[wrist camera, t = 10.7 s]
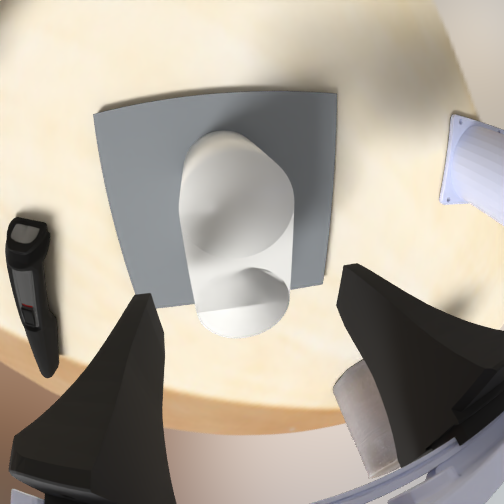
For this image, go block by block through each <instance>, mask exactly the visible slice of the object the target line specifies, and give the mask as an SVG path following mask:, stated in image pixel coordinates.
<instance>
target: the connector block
mask: <svg viewBox="0 0 504 504" xmlns="http://www.w3.org/2000/svg"><path fill="white" fill-rule="evenodd" d="M179 217H180V224H181V230H182V236H183V242H184V248H185V254H186V260H187V265H188V271H189V276H190V281H191V286H192V291H193V297H194V301H195V306H196V311H197V315H198V318H199V320H200V322H201V323H202V324H203V325H204V326H205V327H206V328H207V329H208V330H209V331H211V332H213V333H214V334H217V335H219V336H223V337H228V338H246V337H251V336H255V335H258V334H260V333H263V332H265V331H267V330H268V329H270V328H271V327H273V326H274V325H275V324H276V323H277V322H278V321H280V319H281V318H282V317H283V315H284V314H285V312H286V310H287V308H288V305H289V299H290V283H291V266H292V247H293V225H294V193H293V188H292V185H291V182H290V180H289V178H288V176H287V175H286V174H285V172H284V171H283V170H282V168H281V167H280V166H279V165H278V164H277V163H275V162H274V161H273V160H272V159H271V158H270V157H269V156H268V155H266V154H265V153H264V152H263V151H262V150H261V149H260V148H258V147H257V146H256V145H255V144H254V143H253V142H251V141H250V140H249V139H248V138H246V137H245V136H243V135H241V134H239V133H237V132H233V131H226V130H222V131H215V132H211V133H208V134H206V135H204V136H202V137H201V138H199V139H198V140H197V141H196V142H195V143H194V144H193V145H192V146H191V147H190V149H189V151H188V152H187V154H186V157H185V160H184V166H183V173H182V181H181V189H180V198H179Z"/></svg>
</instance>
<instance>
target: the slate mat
mask: <svg viewBox="0 0 504 504" xmlns="http://www.w3.org/2000/svg"><path fill="white" fill-rule="evenodd" d="M336 115H337V94H335V93H321V92H299V91H252V92H231V93H217V94H205V95H196V96H187V97H179V98H172V99H165V100H159V101H153V102H147V103H141V104H136V105H131V106H126V107H122V108H117V109H113V110H109V111H104V112H100V113H96V114H93V117H94V125H95V132H96V138H97V145H98V151H99V157H100V162H101V167H102V173H103V178H104V182H105V187H106V192H107V196H108V201H109V205H110V209H111V213H112V217H113V221H114V225H115V229H116V232H117V236H118V240H119V243H120V247H121V250H122V254H123V257H124V260H125V264H126V267H127V270H128V273H129V276H130V279H131V282H132V285H133V288H134V291H135V294H145V293H151V295H152V298H153V301H154V304H155V308H164V307H173V306H181V305H189V304H195V301H194V297H193V291H192V286H191V281H190V276H189V271H188V265H187V260H186V254H185V248H184V242H183V236H182V230H181V224H180V217H179V198H180V189H181V181H182V173H183V166H184V160H185V157H186V154H187V152H188V151H189V149H190V147H191V146H192V145H193V144H194V143H195V142H196V141H197V140H198V139H199V138H201V137H202V136H204V135H206V134H208V133H211V132H215V131H222V130H226V131H233V132H237V133H239V134H241V135H243V136H245V137H246V138H248V139H249V140H250V141H251V142H253V143H254V144H255V145H256V146H257V147H258V148H260V149H261V150H262V151H263V152H264V153H265V154H266V155H268V156H269V157H270V158H271V159H272V160H273V161H274V162H275V163H277V164H278V165H279V166H280V167H281V168H282V170H283V171H284V172H285V174H286V175H287V176H288V178H289V180H290V182H291V185H292V188H293V193H294V225H293V247H292V266H291V283H290V290H292V289H298V288H304V287H310V286H315V285H321V284H323V279H324V271H325V263H326V255H327V246H328V237H329V228H330V217H331V206H332V194H333V181H334V165H335V145H336Z"/></svg>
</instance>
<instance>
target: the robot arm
mask: <svg viewBox="0 0 504 504" xmlns="http://www.w3.org/2000/svg"><path fill="white" fill-rule="evenodd" d="M439 201H440V203H442V204H444V205H446V204H465V203H470V204H471V205H473V206H475V207H476V208H478V209H479V210H481V211H482V212H484V213H485V214H487V215H488V216H490V217H491V218H493V219H494V220H496V221H497V222H499V223H500V224H501V225H503V226H504V130H502V129H499V128H497V127H494V126H491V125H488V124H485V123H482V122H479V121H476V120H473V119H470V118H466V117H463V116H459V115H456V114H453V115H452V116H451V122H450V133H449V142H448V150H447V157H446V164H445V170H444V176H443V182H442V187H441V192H440V197H439ZM336 306H337V308H338V311H339V314H340V316H341V318H342V321H343V323H344V326H345V328H346V329H347V331H348V333H349V335H350V336H351V338H352V340H353V342H354V343H355V345H356V347H357V349H358V350H359V352H360V354H361V356H362V357H363V359H364V361H365V363H366V364H367V366H368V368H369V370H370V372H371V374H372V376H373V378H374V381H375V383H376V386H377V388H378V391H379V393H380V396H381V399H382V401H383V404H384V407H385V410H386V413H387V416H388V420H389V423H390V427H391V430H392V434H393V439H394V443H395V448H396V453H397V459H398V462H399V464H400V467H401V469H399V470H397V471H395V472H393V473H391V474H388V475H386V476H384V477H382V478H380V479H377V480H375V481H373V482H370V483H368V484H365V485H363V486H361V487H358V488H355V489H353V490H350V491H347V492H345V493H342V494H339V495H336V496H333V497H330V498H327V499H323V500H320V501H317V502H313V503H310V504H365V503H368V502H370V501H372V500H375V499H377V498H379V497H382V496H384V495H386V494H388V493H390V492H392V491H394V490H396V489H398V488H400V487H402V486H404V485H406V484H408V483H410V482H412V481H413V480H415V479H417V478H419V477H420V476H422V475H424V474H426V473H427V472H428V474H427V477H426V480H425V481H424V482H422V483H420V484H418V485H416V486H415V487H413V488H411V489H409V490H407V491H405V492H403V493H401V494H399V495H398V496H396V497H394V498H392V499H390V500H388V504H485V503H486V502H487V501H488V500H489V499H490V497H491V496H492V495H493V494H494V493H495V492H496V491H497V489H498V488H499V487H500V486H501V485H502V483H503V482H504V331H502V330H496V329H492V328H488V327H484V326H481V325H477V324H474V323H471V322H468V321H465V320H462V319H460V318H457V317H454V316H452V315H450V314H447V313H445V312H443V311H441V310H439V309H436V308H434V307H432V306H430V305H428V304H426V303H424V302H422V301H421V300H419V299H417V298H415V297H413V296H412V295H410V294H408V293H406V292H405V291H403V290H401V289H400V288H398V287H396V286H395V285H393V284H392V283H390V282H388V281H387V280H385V279H383V278H382V277H380V276H379V275H377V274H375V273H374V272H372V271H370V270H369V269H367V268H365V267H363V266H362V265H360V264H358V263H356V264H350V265H344V266H343V272H342V278H341V283H340V289H339V294H338V299H337V304H336ZM164 364H165V346H164V331H163V328H162V326H161V323H160V320H159V317H158V314H157V311H156V308H155V304H154V301H153V298H152V295H151V293H145V294H136V295H134V297H133V298H132V300H131V301H130V303H129V304H128V306H127V308H126V309H125V311H124V313H123V314H122V316H121V318H120V319H119V321H118V322H117V324H116V326H115V327H114V329H113V330H112V332H111V333H110V335H109V337H108V338H107V340H106V341H105V343H104V344H103V345H102V347H101V348H100V350H99V351H98V353H97V354H96V356H95V357H94V358H93V360H92V361H91V363H90V364H89V365H88V367H87V368H86V369H85V370H84V372H83V373H82V374H81V375H80V376H79V378H78V379H77V380H76V381H75V382H74V383H73V384H72V385H71V386H70V388H69V389H68V390H67V391H66V392H65V393H64V394H63V395H62V396H61V397H60V398H59V399H58V400H57V401H56V402H55V403H54V404H53V405H52V406H51V407H50V408H49V409H48V410H47V411H46V412H44V413H43V414H42V415H41V416H40V417H39V418H38V419H36V420H35V421H34V422H33V423H31V424H30V425H29V426H27V427H26V428H25V429H23V430H22V431H21V432H20V433H18V434H17V435H15V436H14V440H13V445H12V451H11V457H10V463H9V472H10V474H11V475H12V476H13V477H15V478H16V479H18V480H19V481H22V482H23V483H25V484H27V485H29V486H31V487H33V488H35V489H37V490H39V491H41V492H43V493H45V500H43V499H41V498H38V497H35V496H32V495H29V494H27V493H24V492H21V491H18V490H16V489H12V492H11V504H176V500H175V496H174V492H173V487H172V483H171V478H170V473H169V467H168V461H167V455H166V448H165V441H164V431H163V419H162V401H163V381H164Z"/></svg>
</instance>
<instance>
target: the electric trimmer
mask: <svg viewBox="0 0 504 504" xmlns="http://www.w3.org/2000/svg"><path fill="white" fill-rule="evenodd" d="M49 242H50V233H49V232H48V231H47V225H46V223H43V222H39V221H34V220H29V219H24V218H20V217H16V218H14V219H13V220H12V221H11V222H10V224H9V227H8V231H7V240H6V248H5V253H6V262H7V269H8V273H9V278H10V282H11V287H12V291H13V295H14V298H15V302H16V306H17V309H18V312H19V316H20V319H21V321H22V324H23V326H24V328H25V331H26V334H27V337H28V340H29V343H30V346H31V349H32V351H33V354H34V357H35V359H36V362H37V364H38V367H39V369H40V372H41V374H42V375H43V376H44V377H45V378H50V377H52V376H53V374H54V373H55V371H56V369H57V368H58V365H59V351H58V333H57V320H56V317H55V316H54V315H53V314H52V313H51V312H50V311H49V308H48V301H47V293H46V284H45V274H44V259H45V256H46V254H47V251H48V247H49Z"/></svg>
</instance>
